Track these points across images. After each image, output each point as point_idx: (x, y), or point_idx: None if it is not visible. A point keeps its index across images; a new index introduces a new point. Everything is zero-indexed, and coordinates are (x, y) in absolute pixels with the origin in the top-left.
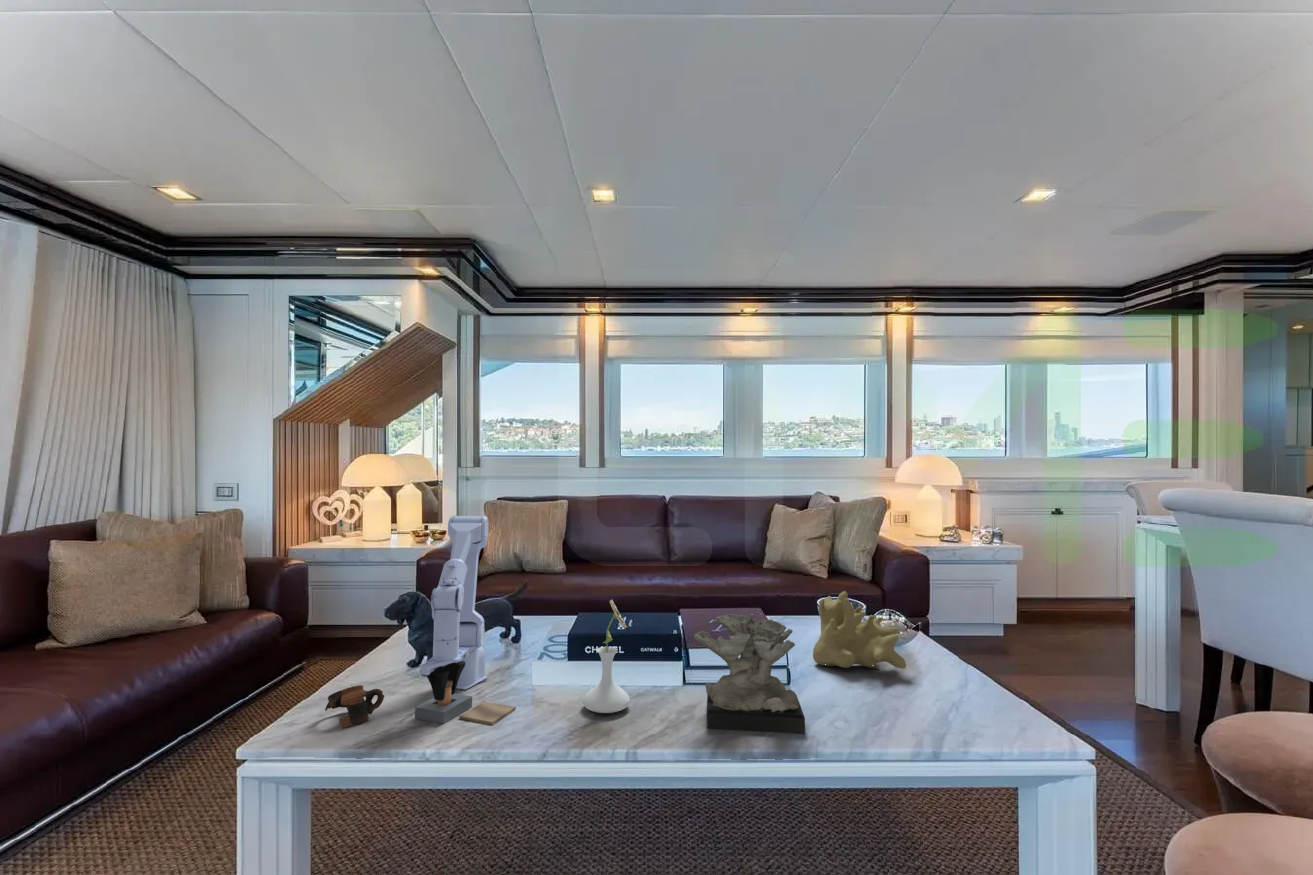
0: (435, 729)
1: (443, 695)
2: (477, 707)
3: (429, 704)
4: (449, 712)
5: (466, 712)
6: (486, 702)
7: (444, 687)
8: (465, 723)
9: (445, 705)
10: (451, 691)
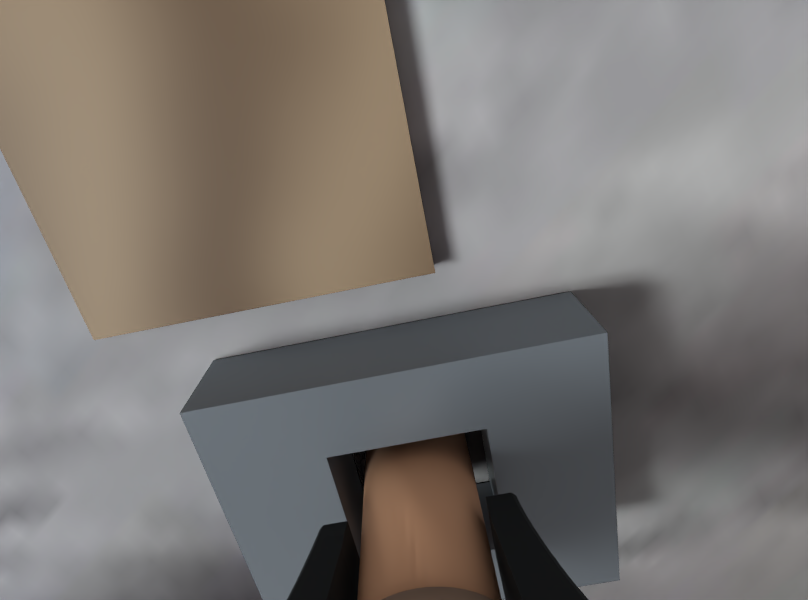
0: (679, 260)
1: (509, 523)
2: (213, 285)
3: None
4: (517, 332)
5: (349, 279)
6: (86, 304)
7: (537, 596)
8: (476, 140)
9: (450, 453)
10: (378, 544)
